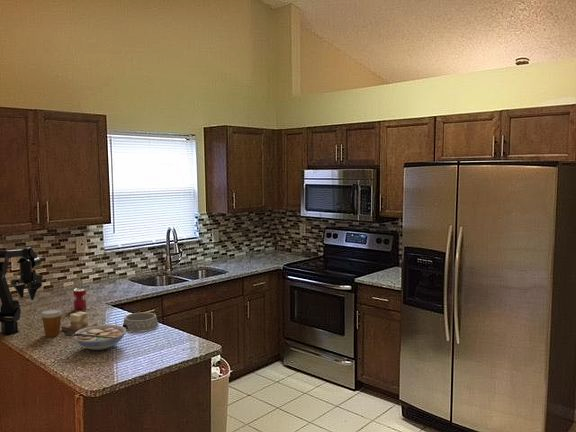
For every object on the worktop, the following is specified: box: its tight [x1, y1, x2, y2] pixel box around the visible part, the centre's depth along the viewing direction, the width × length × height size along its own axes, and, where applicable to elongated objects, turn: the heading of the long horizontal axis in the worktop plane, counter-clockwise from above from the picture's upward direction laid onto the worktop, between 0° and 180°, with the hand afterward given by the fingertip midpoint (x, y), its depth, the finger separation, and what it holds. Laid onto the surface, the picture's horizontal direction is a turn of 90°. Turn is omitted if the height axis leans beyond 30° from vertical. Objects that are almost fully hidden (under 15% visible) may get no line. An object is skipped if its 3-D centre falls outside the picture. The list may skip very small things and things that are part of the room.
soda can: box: [72, 288, 88, 312], centre depth 288 cm, size 7×7×12 cm
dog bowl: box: [122, 311, 159, 332], centre depth 259 cm, size 17×18×5 cm
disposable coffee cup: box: [40, 308, 63, 338], centre depth 244 cm, size 10×10×12 cm
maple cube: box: [69, 311, 89, 327], centre depth 254 cm, size 6×6×6 cm
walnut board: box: [61, 321, 98, 333], centre depth 254 cm, size 12×12×2 cm
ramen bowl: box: [64, 324, 127, 351], centre depth 227 cm, size 25×23×8 cm
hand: (27, 298), depth 263 cm, fingers open, 9 cm apart
